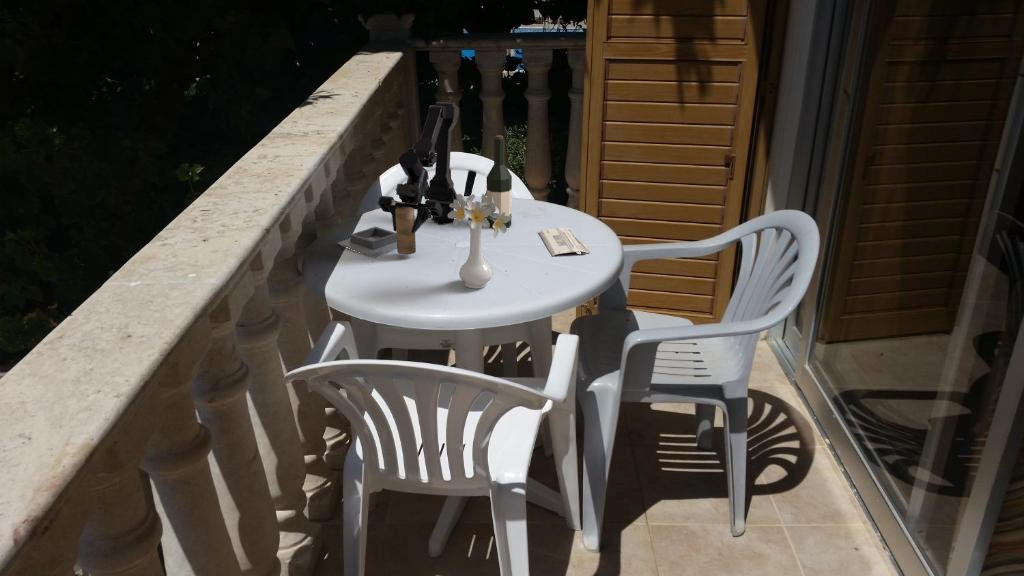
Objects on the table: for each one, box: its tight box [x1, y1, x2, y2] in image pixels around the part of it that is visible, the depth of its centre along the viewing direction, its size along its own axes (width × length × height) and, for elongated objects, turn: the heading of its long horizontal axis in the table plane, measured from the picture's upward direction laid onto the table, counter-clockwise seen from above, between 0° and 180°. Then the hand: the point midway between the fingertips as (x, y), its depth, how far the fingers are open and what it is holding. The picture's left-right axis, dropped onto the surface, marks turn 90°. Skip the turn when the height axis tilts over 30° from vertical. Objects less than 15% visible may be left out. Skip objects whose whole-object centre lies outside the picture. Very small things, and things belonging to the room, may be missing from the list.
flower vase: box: [448, 193, 513, 290], centre depth 220 cm, size 13×18×25 cm
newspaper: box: [538, 227, 591, 257], centre depth 256 cm, size 23×12×2 cm, turn 9°
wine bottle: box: [486, 134, 513, 230], centre depth 266 cm, size 8×8×30 cm
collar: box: [337, 226, 397, 258], centre depth 252 cm, size 16×16×4 cm
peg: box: [395, 207, 417, 256], centre depth 240 cm, size 6×6×13 cm
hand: (403, 231), depth 239 cm, fingers closed on peg, 5 cm apart
